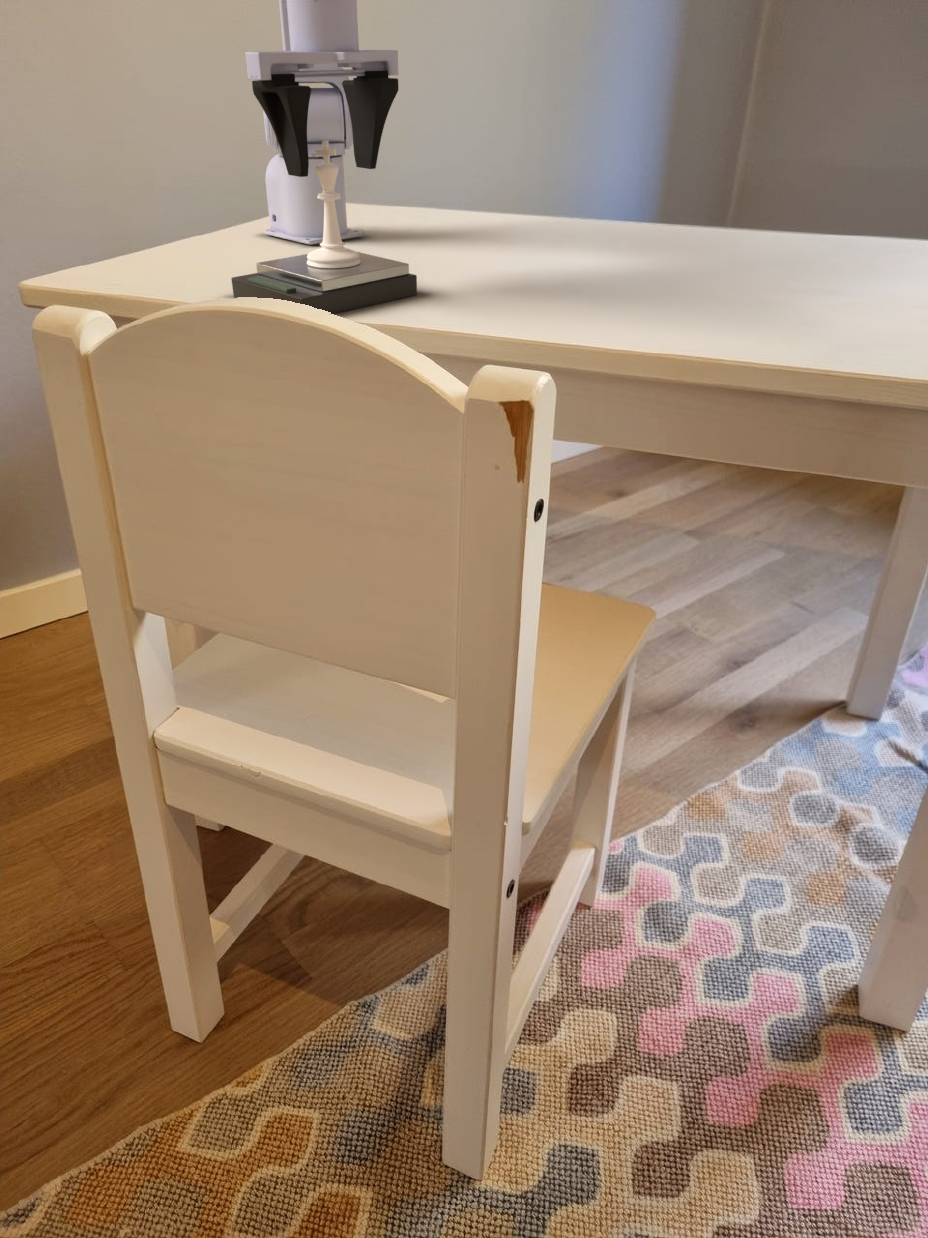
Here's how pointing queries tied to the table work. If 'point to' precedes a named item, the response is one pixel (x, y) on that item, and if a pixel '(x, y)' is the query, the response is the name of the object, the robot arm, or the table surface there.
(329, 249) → the chess piece
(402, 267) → the scale pan
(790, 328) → the table surface
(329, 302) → the scale
